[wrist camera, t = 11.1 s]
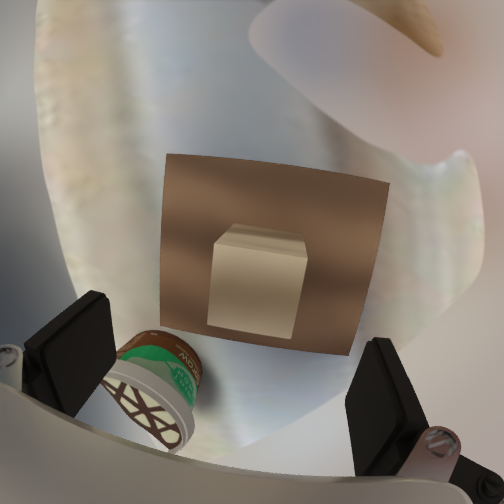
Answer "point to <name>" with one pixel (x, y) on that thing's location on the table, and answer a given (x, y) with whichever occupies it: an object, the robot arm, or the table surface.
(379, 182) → the walnut box
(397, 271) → the table surface
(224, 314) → the birch block
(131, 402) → the food container
